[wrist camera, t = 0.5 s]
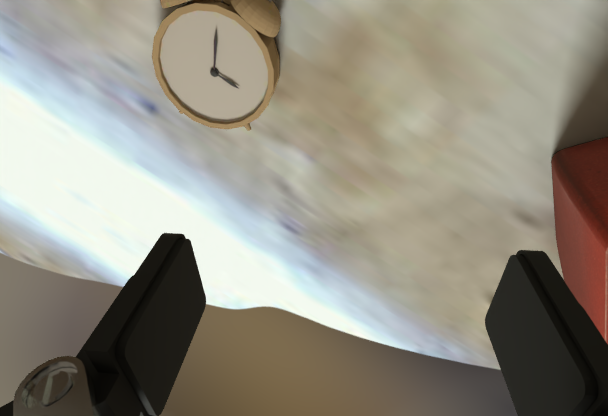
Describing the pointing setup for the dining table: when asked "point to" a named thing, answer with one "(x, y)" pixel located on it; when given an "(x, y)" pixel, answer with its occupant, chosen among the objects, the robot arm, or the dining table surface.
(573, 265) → the plant pot
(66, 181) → the dining table surface
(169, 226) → the dining table surface
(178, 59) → the alarm clock
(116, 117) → the dining table surface
